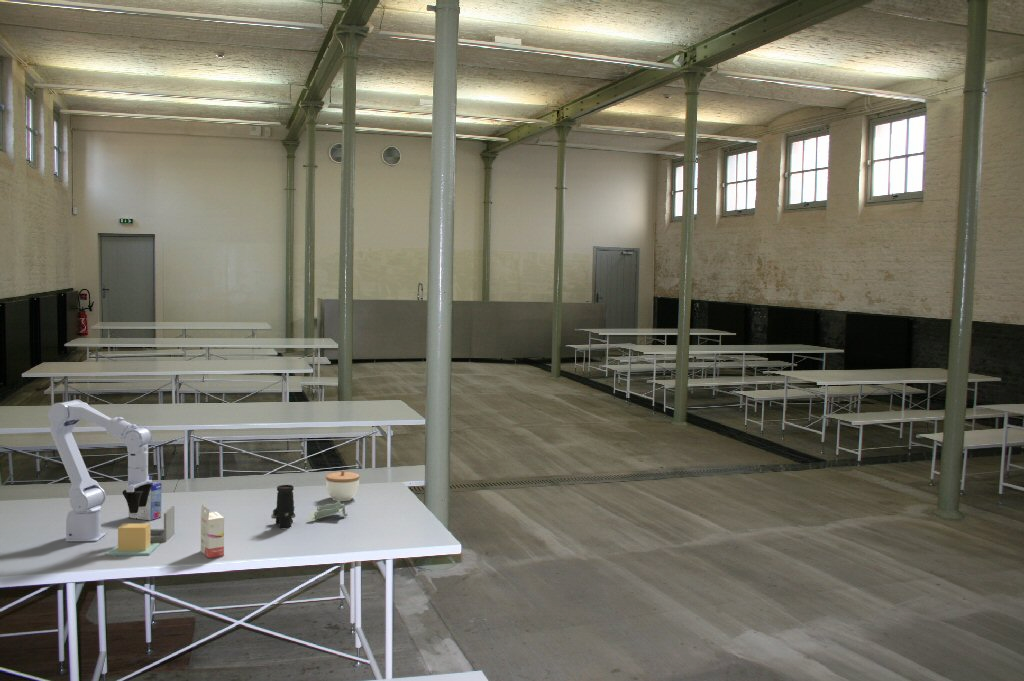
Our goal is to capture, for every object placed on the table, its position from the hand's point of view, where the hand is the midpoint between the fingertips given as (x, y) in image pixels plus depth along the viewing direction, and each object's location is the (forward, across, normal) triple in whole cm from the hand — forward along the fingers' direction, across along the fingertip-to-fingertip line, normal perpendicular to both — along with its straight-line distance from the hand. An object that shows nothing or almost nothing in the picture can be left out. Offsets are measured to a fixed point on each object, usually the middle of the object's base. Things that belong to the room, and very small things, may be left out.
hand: (138, 509), depth 265 cm
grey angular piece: (+10, +5, -1) cm, 11 cm away
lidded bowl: (+10, +55, -57) cm, 80 cm away
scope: (+10, +18, -42) cm, 47 cm away
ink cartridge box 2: (+10, -12, -26) cm, 30 cm away
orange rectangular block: (+10, -8, -2) cm, 13 cm away
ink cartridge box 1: (+11, +28, +7) cm, 31 cm away
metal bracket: (+11, +29, -55) cm, 63 cm away
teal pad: (+10, -8, -2) cm, 13 cm away
